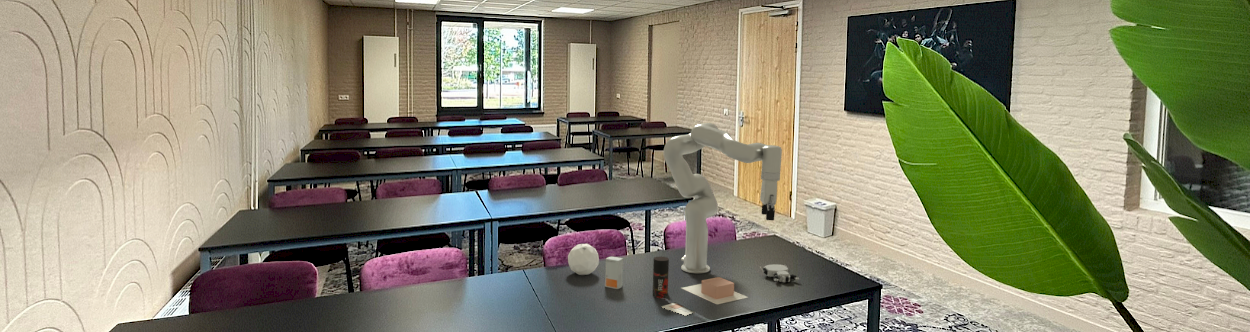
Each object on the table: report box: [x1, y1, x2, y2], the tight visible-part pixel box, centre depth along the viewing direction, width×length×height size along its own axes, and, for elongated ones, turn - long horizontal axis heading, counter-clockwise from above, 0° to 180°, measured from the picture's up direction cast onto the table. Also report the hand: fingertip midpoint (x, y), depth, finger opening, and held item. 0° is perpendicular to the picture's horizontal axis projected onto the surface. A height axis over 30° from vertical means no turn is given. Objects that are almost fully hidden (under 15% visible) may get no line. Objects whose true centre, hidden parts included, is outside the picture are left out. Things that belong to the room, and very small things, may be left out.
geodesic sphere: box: [567, 243, 600, 276], centre depth 308 cm, size 14×14×14 cm
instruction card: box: [661, 301, 696, 317], centre depth 270 cm, size 12×9×1 cm
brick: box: [700, 276, 735, 299], centre depth 284 cm, size 9×9×5 cm
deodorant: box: [652, 256, 670, 299], centre depth 283 cm, size 6×6×15 cm
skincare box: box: [604, 256, 624, 290], centre depth 293 cm, size 6×4×12 cm
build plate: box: [681, 283, 749, 305], centre depth 286 cm, size 22×16×1 cm
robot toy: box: [759, 264, 800, 283], centre depth 309 cm, size 12×4×15 cm
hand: (767, 217), depth 296 cm, fingers open, 9 cm apart
